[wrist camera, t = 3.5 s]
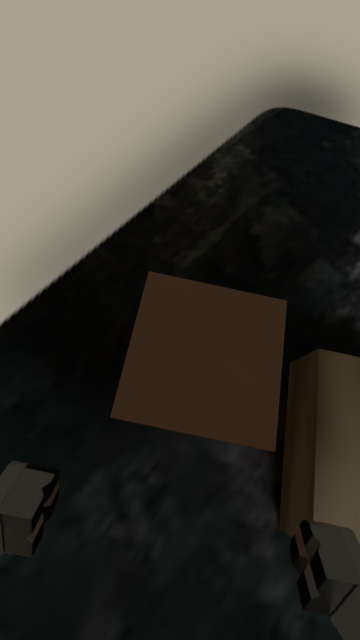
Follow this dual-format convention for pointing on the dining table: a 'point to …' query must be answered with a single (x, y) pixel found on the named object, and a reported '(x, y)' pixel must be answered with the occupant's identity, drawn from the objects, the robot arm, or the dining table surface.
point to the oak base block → (322, 442)
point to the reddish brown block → (204, 362)
